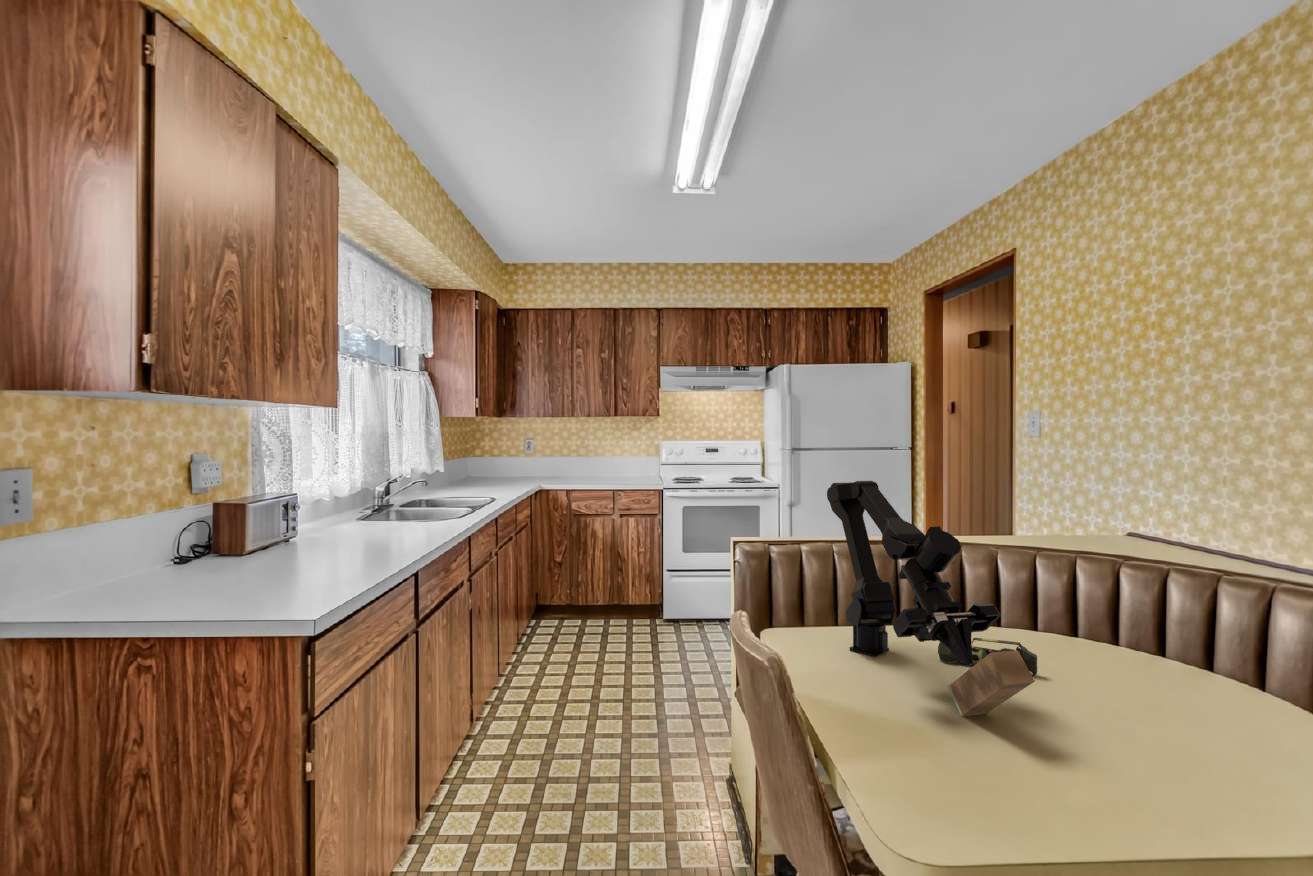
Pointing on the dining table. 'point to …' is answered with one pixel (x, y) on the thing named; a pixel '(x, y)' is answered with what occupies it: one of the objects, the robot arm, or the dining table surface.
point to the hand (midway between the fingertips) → (969, 664)
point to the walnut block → (990, 682)
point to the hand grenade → (981, 653)
